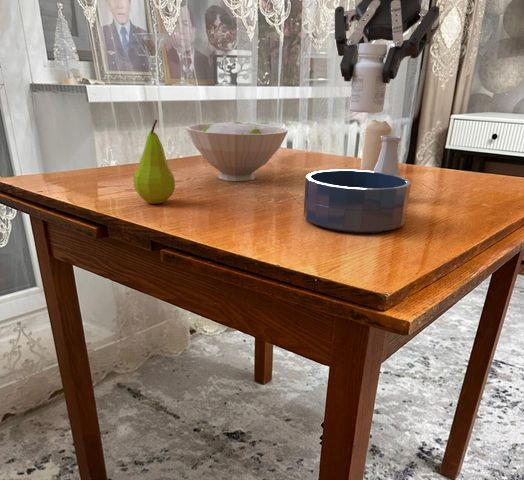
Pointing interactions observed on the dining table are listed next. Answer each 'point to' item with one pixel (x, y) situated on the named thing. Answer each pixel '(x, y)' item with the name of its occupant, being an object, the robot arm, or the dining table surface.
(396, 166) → the flask
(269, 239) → the dining table surface
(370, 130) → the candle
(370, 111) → the pill bottle
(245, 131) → the bowl
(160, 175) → the fruit
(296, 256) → the dining table surface
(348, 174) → the blue dish
